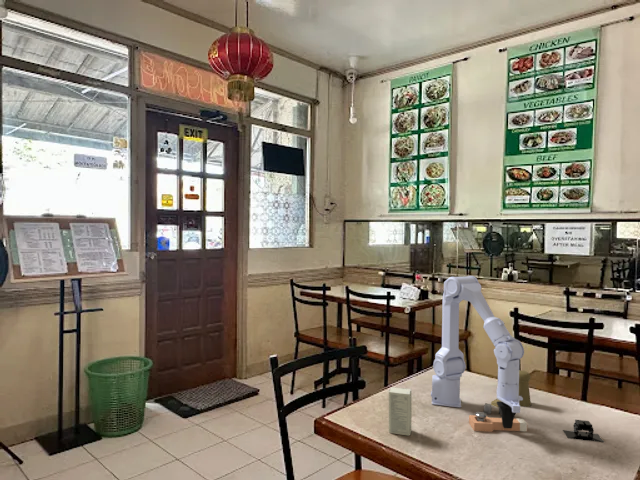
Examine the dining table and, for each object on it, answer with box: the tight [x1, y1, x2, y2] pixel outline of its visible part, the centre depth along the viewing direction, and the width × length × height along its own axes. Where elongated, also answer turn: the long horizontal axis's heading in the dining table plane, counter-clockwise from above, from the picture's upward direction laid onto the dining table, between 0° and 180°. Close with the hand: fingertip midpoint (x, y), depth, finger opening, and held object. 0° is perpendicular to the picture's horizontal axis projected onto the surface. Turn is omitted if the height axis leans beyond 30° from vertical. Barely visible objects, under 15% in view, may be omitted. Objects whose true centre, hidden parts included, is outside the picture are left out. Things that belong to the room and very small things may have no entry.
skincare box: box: [388, 386, 413, 436], centre depth 129 cm, size 6×4×12 cm
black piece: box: [562, 419, 605, 443], centre depth 128 cm, size 12×7×5 cm, turn 77°
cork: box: [519, 369, 532, 408], centre depth 152 cm, size 6×6×11 cm
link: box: [468, 414, 528, 433], centre depth 132 cm, size 16×5×2 cm, turn 87°
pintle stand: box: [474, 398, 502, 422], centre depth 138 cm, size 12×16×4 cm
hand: (507, 427), depth 130 cm, fingers closed, pressing on link
